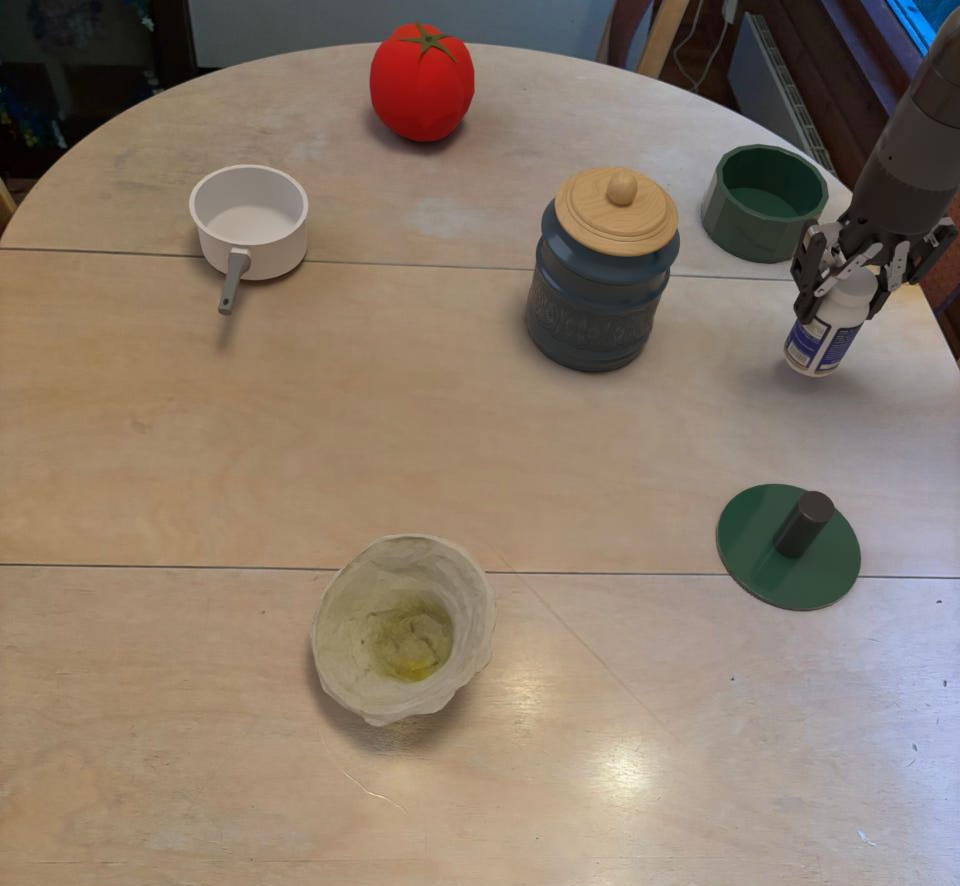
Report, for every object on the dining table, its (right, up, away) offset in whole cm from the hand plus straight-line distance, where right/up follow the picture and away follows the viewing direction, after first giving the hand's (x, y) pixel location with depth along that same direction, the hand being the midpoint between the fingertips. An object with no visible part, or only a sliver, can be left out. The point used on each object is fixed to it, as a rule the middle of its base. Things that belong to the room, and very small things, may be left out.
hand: (832, 315), depth 89 cm
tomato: (-40, +29, +20) cm, 53 cm away
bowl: (-40, -33, -11) cm, 53 cm away
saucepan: (-57, +6, +7) cm, 58 cm away
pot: (-2, +17, +18) cm, 24 cm away
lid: (-5, -22, -3) cm, 23 cm away
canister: (-22, +2, +8) cm, 24 cm away
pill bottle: (-1, -3, +5) cm, 6 cm away
